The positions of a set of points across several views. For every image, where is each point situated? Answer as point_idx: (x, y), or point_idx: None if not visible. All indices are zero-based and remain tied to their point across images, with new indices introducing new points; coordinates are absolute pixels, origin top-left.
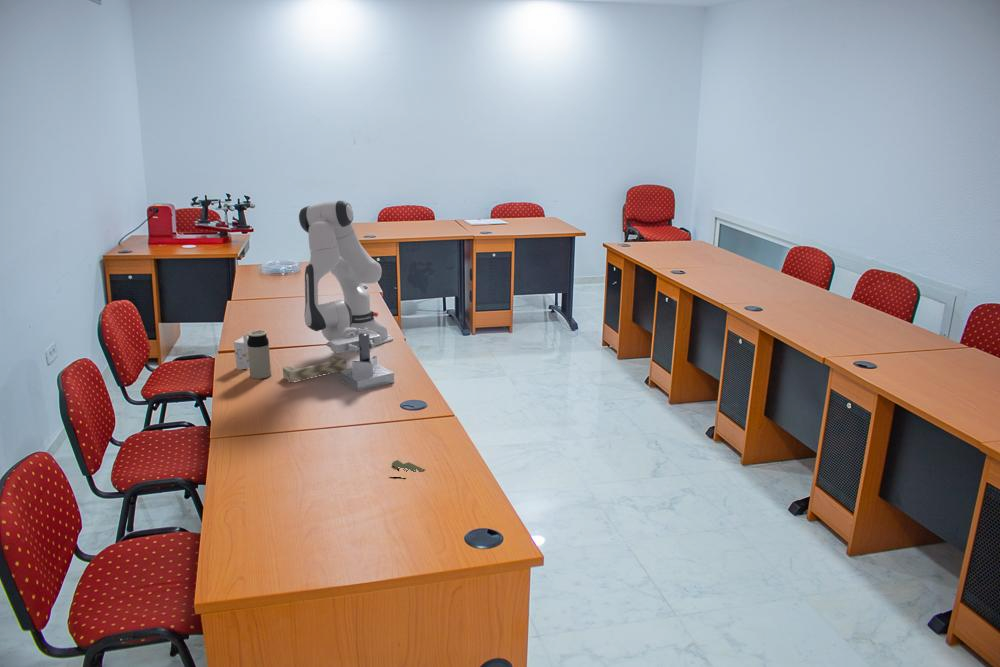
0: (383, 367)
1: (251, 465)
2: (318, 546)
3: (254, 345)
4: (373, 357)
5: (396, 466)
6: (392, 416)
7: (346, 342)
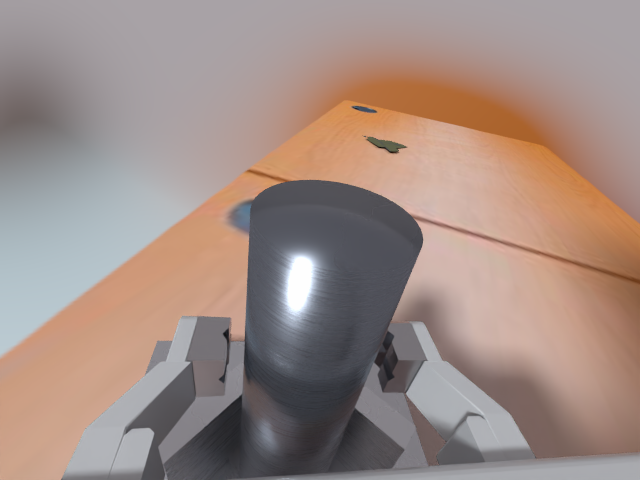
0: None
1: (593, 217)
2: (477, 139)
3: None
4: (199, 422)
5: (394, 148)
6: None
7: (583, 473)
